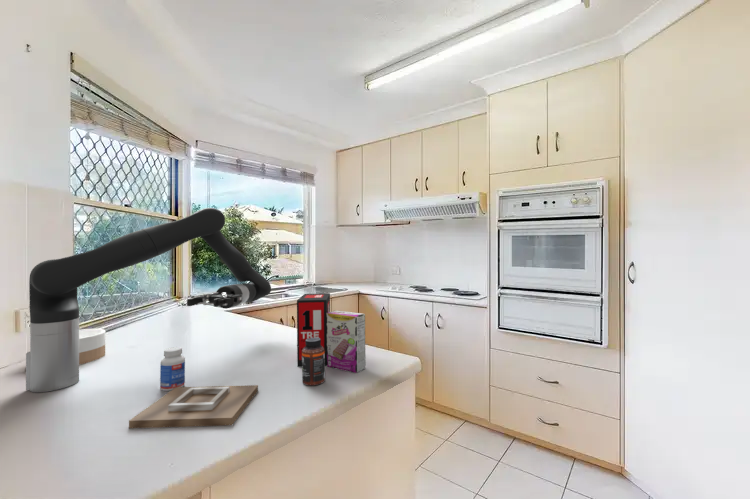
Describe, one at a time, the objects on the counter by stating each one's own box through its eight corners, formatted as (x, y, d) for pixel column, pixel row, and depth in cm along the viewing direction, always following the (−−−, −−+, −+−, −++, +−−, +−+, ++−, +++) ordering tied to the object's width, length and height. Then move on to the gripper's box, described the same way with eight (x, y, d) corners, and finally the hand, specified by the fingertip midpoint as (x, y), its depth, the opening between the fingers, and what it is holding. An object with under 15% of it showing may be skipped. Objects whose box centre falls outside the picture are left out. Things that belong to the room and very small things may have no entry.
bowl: (96, 349, 119) (96, 326, 119) (112, 357, 109) (112, 332, 109) (28, 362, 105) (29, 336, 105) (39, 373, 95) (39, 344, 95)
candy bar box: (325, 367, 97) (325, 312, 97) (336, 362, 101) (335, 310, 101) (356, 374, 91) (356, 315, 91) (366, 368, 95) (365, 313, 96)
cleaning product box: (327, 365, 98) (326, 299, 99) (297, 366, 98) (296, 300, 98) (330, 349, 115) (329, 293, 115) (305, 350, 114) (304, 293, 115)
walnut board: (128, 428, 64) (128, 414, 64) (175, 393, 80) (175, 382, 80) (232, 425, 64) (232, 411, 65) (258, 391, 80) (257, 380, 81)
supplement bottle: (329, 379, 87) (329, 337, 88) (316, 388, 82) (316, 343, 82) (311, 376, 90) (310, 335, 90) (297, 384, 85) (297, 340, 85)
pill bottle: (173, 392, 80) (173, 352, 81) (154, 390, 81) (154, 351, 82) (189, 383, 86) (189, 346, 86) (172, 382, 87) (172, 345, 87)
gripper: (213, 284, 112) (179, 289, 96) (252, 284, 110) (223, 290, 94) (213, 306, 112) (179, 315, 96) (252, 306, 110) (223, 316, 94)
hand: (201, 302), depth 95 cm, fingers open, 8 cm apart
